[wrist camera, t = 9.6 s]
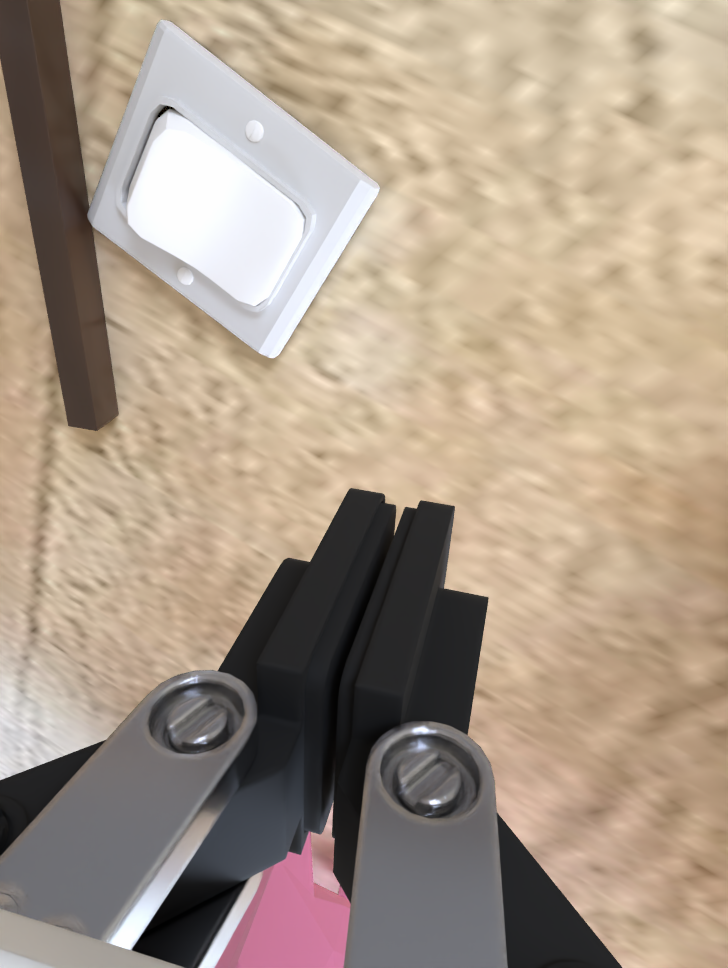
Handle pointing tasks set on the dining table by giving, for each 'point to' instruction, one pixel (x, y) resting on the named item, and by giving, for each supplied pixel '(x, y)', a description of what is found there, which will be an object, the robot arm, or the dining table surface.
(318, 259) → the light switch
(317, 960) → the cat
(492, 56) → the dining table surface
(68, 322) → the back rail
